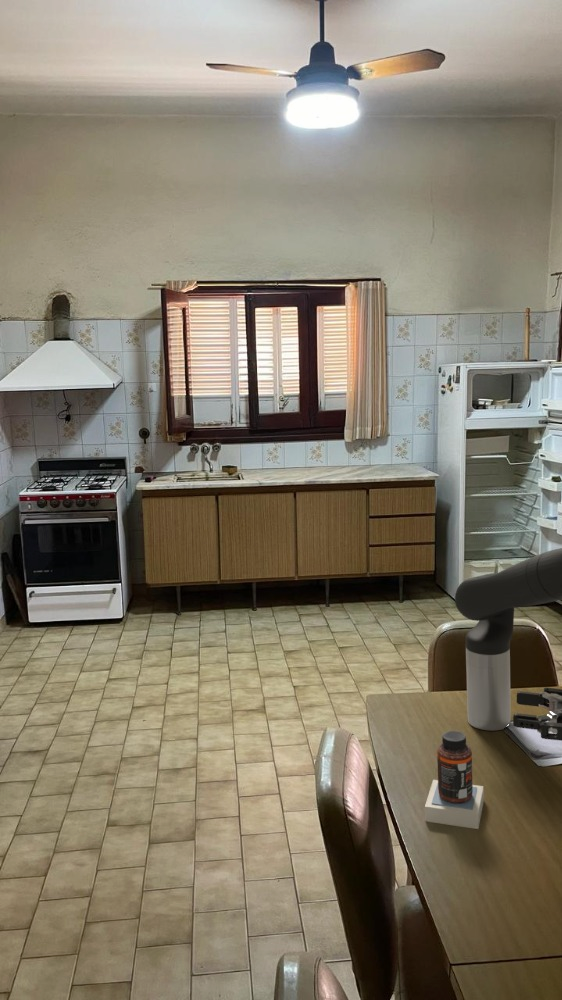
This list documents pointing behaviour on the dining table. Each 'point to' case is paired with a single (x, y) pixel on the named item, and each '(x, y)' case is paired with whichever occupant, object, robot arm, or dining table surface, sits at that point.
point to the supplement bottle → (454, 768)
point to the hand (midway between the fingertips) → (515, 708)
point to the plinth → (454, 808)
